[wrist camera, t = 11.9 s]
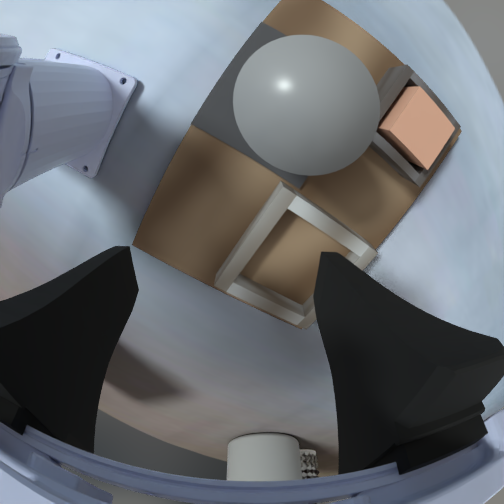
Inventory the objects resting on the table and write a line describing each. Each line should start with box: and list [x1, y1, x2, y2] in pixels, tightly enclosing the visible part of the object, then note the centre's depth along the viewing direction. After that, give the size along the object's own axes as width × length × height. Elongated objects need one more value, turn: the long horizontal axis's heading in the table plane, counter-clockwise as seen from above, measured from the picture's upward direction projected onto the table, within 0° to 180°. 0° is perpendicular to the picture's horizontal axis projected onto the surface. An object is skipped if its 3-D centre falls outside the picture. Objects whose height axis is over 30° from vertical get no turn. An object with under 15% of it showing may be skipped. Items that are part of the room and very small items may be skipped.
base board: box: [132, 0, 461, 329], centre depth 17 cm, size 16×22×4 cm
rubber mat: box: [191, 22, 308, 188], centre depth 15 cm, size 8×8×1 cm
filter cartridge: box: [233, 35, 380, 176], centre depth 11 cm, size 5×5×8 cm
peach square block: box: [376, 86, 455, 170], centre depth 13 cm, size 4×4×3 cm
